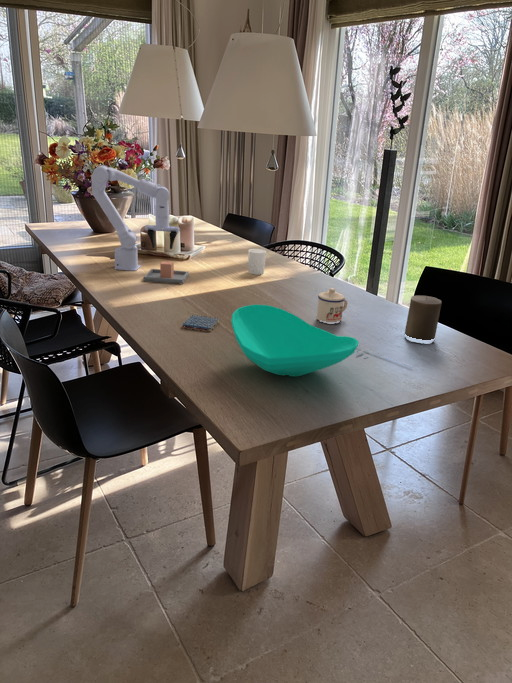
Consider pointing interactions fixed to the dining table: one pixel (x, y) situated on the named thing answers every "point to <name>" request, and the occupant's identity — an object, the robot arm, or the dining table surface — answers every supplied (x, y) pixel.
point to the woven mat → (200, 323)
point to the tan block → (166, 269)
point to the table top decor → (287, 341)
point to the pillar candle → (423, 317)
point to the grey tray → (177, 278)
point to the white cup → (256, 261)
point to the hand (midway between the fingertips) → (162, 247)
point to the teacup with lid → (331, 306)
